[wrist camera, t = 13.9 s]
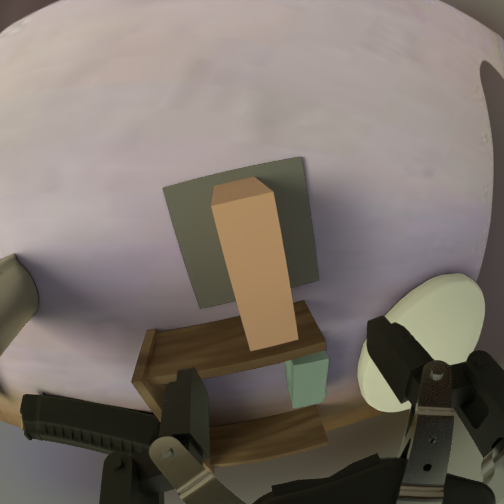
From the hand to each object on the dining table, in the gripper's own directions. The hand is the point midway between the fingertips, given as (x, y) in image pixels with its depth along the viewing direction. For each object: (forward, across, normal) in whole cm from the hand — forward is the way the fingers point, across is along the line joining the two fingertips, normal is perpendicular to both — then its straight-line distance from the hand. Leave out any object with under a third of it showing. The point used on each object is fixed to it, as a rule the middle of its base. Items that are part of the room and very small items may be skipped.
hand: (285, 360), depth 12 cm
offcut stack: (+19, -4, +21) cm, 28 cm away
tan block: (+18, 0, 0) cm, 18 cm away
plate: (+19, -25, +26) cm, 40 cm away
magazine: (+19, +32, +24) cm, 44 cm away
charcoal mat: (+19, 0, 0) cm, 19 cm away
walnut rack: (+19, +4, +21) cm, 29 cm away
